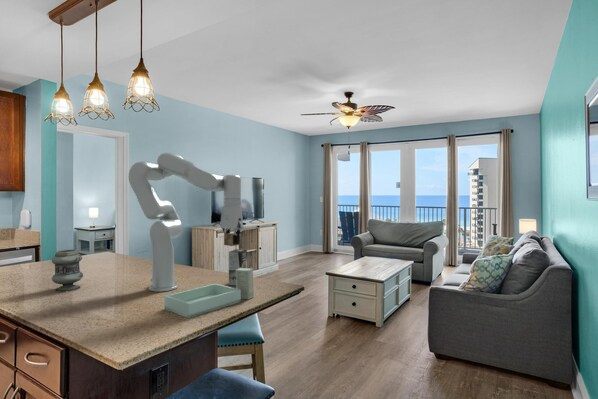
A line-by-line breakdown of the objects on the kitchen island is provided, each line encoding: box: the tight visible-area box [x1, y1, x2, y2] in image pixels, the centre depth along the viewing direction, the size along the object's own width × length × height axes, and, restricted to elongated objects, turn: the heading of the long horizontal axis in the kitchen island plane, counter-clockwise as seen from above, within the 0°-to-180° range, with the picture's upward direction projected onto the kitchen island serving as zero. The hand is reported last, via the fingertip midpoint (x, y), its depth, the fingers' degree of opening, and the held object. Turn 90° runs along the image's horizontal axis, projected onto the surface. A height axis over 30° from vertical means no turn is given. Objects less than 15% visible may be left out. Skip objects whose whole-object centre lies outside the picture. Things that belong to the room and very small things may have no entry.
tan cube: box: [223, 232, 241, 247], centre depth 158 cm, size 5×5×5 cm
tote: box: [164, 283, 242, 319], centre depth 139 cm, size 16×24×5 cm, turn 141°
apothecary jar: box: [51, 248, 84, 293], centre depth 164 cm, size 12×12×18 cm
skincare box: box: [235, 267, 255, 300], centre depth 149 cm, size 6×4×12 cm
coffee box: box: [228, 248, 248, 286], centre depth 174 cm, size 9×6×16 cm
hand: (232, 243), depth 158 cm, fingers closed on tan cube, 4 cm apart
